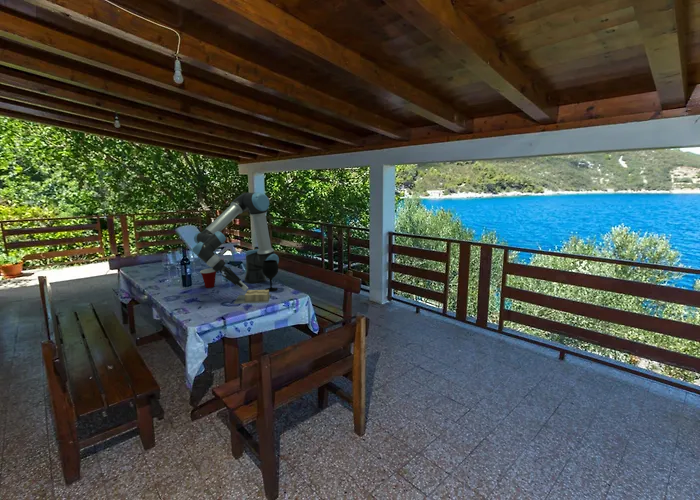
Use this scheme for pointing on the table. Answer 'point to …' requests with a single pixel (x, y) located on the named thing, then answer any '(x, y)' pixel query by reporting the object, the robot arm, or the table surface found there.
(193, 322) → the table surface
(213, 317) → the table surface
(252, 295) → the oak board
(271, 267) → the wine glass
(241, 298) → the rubber mat
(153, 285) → the table surface
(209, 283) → the plastic cup
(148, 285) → the table surface
